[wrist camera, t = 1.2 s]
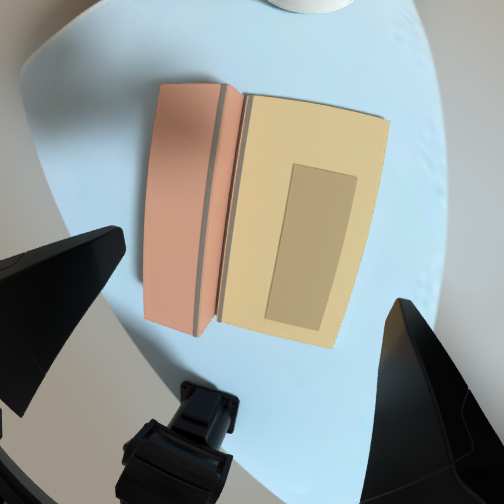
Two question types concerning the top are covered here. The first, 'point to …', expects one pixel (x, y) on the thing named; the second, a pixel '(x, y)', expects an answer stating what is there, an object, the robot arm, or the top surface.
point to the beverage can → (311, 5)
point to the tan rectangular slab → (299, 217)
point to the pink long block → (188, 202)
